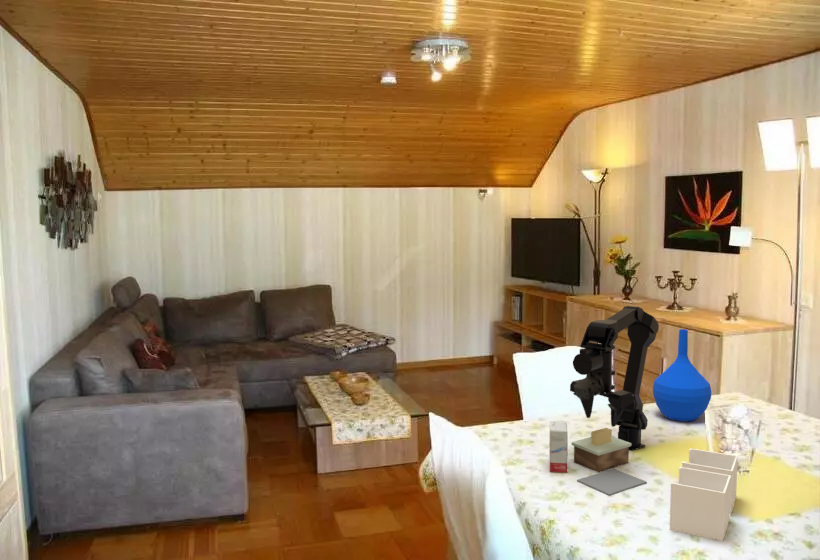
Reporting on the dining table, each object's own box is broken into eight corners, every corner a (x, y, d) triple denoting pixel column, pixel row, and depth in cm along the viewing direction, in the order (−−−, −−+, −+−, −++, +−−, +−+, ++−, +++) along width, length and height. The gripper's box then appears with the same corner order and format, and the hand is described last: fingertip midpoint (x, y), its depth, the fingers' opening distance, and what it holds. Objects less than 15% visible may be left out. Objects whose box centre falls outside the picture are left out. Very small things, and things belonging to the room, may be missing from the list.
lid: (603, 438, 203) (604, 421, 202) (631, 448, 195) (631, 431, 194) (571, 447, 196) (571, 430, 196) (598, 458, 188) (598, 440, 187)
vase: (657, 424, 228) (659, 334, 224) (647, 408, 246) (649, 324, 242) (716, 426, 225) (720, 335, 221) (702, 410, 243) (705, 325, 239)
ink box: (567, 473, 189) (568, 431, 187) (549, 472, 190) (549, 430, 188) (566, 461, 197) (567, 421, 196) (549, 460, 198) (549, 420, 197)
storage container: (723, 542, 150) (724, 493, 149) (669, 530, 156) (670, 483, 155) (736, 498, 172) (737, 455, 171) (688, 489, 177) (689, 448, 176)
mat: (613, 469, 191) (613, 468, 191) (646, 483, 181) (646, 481, 181) (576, 481, 183) (576, 479, 183) (609, 495, 174) (609, 494, 174)
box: (603, 453, 203) (604, 436, 202) (628, 463, 195) (628, 445, 195) (573, 462, 197) (574, 445, 196) (598, 472, 189) (598, 454, 188)
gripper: (555, 365, 196) (555, 418, 198) (606, 379, 181) (605, 437, 183) (584, 359, 202) (584, 411, 204) (635, 372, 186) (634, 429, 188)
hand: (600, 422), depth 195 cm, fingers open, 9 cm apart
